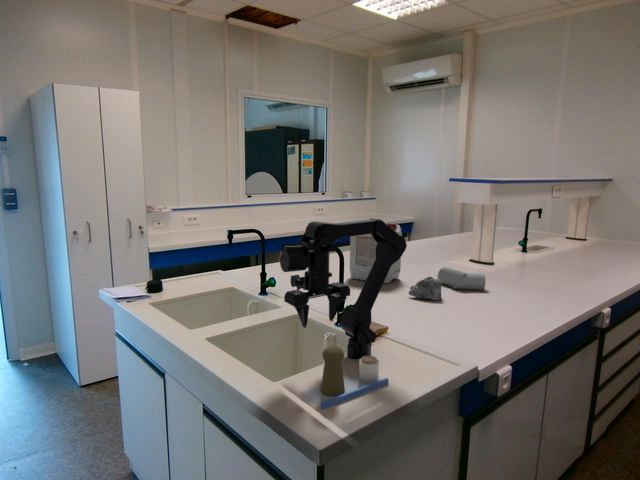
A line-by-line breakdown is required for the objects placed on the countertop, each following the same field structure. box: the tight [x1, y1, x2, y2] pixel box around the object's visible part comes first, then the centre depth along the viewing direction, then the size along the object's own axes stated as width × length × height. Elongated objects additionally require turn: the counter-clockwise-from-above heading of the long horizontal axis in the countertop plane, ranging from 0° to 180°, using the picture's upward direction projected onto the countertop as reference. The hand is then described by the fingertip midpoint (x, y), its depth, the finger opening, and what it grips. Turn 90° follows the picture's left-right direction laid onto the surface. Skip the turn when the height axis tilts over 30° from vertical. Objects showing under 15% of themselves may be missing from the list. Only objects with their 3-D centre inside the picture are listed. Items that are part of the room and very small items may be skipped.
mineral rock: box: [408, 276, 442, 301], centre depth 193 cm, size 13×11×10 cm
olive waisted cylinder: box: [320, 345, 345, 397], centre depth 106 cm, size 6×6×11 cm
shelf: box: [301, 372, 390, 410], centre depth 108 cm, size 21×9×2 cm, turn 127°
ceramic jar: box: [358, 355, 380, 384], centre depth 113 cm, size 5×5×6 cm
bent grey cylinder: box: [437, 266, 487, 291], centre depth 214 cm, size 18×11×20 cm
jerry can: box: [349, 222, 403, 284], centre depth 227 cm, size 24×19×30 cm
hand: (317, 323), depth 120 cm, fingers open, 9 cm apart
